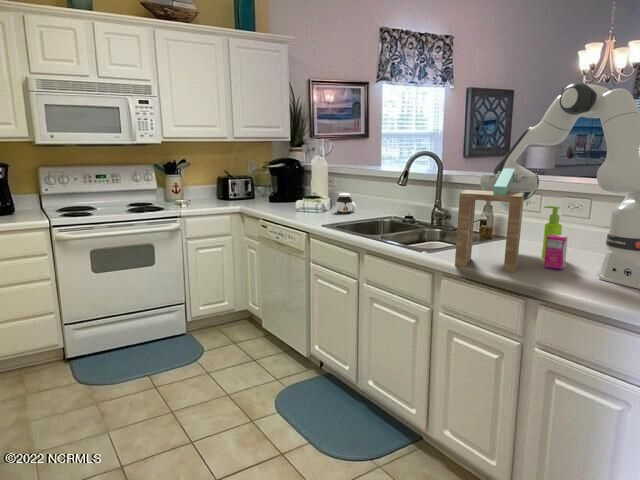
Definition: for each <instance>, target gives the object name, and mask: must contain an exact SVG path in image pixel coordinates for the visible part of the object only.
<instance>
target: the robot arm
mask: <svg viewBox="0 0 640 480" xmlns="http://www.w3.org/2000/svg"><path fill="white" fill-rule="evenodd" d="M580 118H585V119H597V120H600V123H601V128H602V131H603V136H604V139H605V144H606V156H605V159H604V161H603V163H602V164H601V165H600V166H599V168H598V169H597V173H596V182H597V184H598V186H599V187H600V189H602V190H603V191H607V192H610V193H614V194H626V195H625V197H624V199H623V200H622V202H620V204H618V205H617V206H616V207H614V208H613V210H612V211H611V216H610V224H609V231H608V233H607V235H606V240H605V241H606V242H605V244H606V249H605V253H604V257H603V260H602V263H601V266H600V269H599V270H598V272H597V275H598V276H599V279H600V280H602V281H607V282H611V283H613V284H618V285H622V286H626V287H630V288H634V289H638V290H640V153H639V151H640V109H639V108H638V105H637V102H636V100H635V98H634V96H633V95H632V93H631V92H630V91H629V90H627V89H626V88H620V87H619V88H614V89H613V88H611V87H610V88H609V87H604V86H601V85H598V84H591V83H583V82H577V83H576V82H575V83H571V84H569V85H568V86H566V87H565V88H564V89H563V90H562V91H561V94H559V95H558V96H556V98H555V99H554V100H553V102H552V103H551V104H550V106H549V107H548V108H547V110H546V112H545V113H544V115H543V117H542V118H541V120H540V122H539V123H537V124H536V125H535V126H530V127H528V128H527V129H525V130H524V131H523V132H522V134H521V135H520V136H519V138H518V139H517V140H516V141H515V143H514V144H513V145H512V147H511V148H510V149H509V151H507V153H506V154H505V155H504V157H503V158H502V159H501V160H500V161H499V162H498V164H496V166H495V168H494V169H493V174H489V173H488V174H487V173H486V174H485V173H484V174H482V175H481V176H480V179H479V180H480V181H479V184H480V187H481V189H482V191H494V185H495V183H496V181H497V180H498V178H499V176H500V174H501V172H502V171H503V169H504V168H508V169H515V172H514V174H513V178H514V179H513V181H512V183H511V185H510V187H509V190H508V192H518V193H524V200H523V202H524V201H527V200H529V199H531V198H532V197H533V196H534V195H535V194H536V192H537V190H538V188H539V184H540V178H539V176H538V175H537V174H535V173H534V172H532V171H531V170H529V169H527V168H525V167H523V166H522V165H520V164H518V163H517V160H518V159H519V157H520V156H521V155H522V153H524V151H525V150H526V148H527V147H529V145H539V146H545V147H547V146H556V145H559V144H560V143H562V142H564V141H565V140H566V138H568V135H569V134H570V132H571V131H572V129H573V127H574V125H575V123H576V122H577V121H578V119H580ZM509 204H510V202H502V201H498V206H500V208H501V209H502V210H503V211H504V212H507V213H509Z"/></svg>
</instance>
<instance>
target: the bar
mask: <svg viewBox="0 0 640 480" xmlns="http://www.w3.org/2000/svg"><path fill="white" fill-rule="evenodd" d="M514 172H515V169H508V168H504V169H503V171H502V172H501V174H500V176H499V178H498V180H497V181H496V183H495V185H494V192H493V195H506V194H507V192H508V190H509V187H510V185H511V183H512V181H513V179H514V178H513V174H514Z"/></svg>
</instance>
